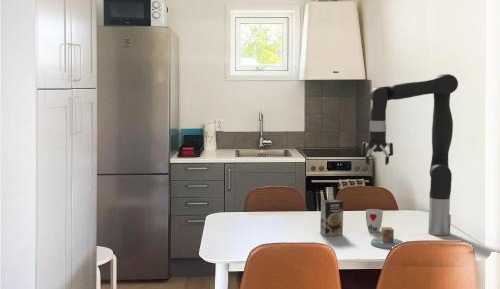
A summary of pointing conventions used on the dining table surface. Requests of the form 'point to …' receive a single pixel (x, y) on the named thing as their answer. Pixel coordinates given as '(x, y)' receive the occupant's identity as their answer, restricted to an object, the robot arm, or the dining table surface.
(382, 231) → the block
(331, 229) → the coffee box
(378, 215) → the cup
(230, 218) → the dining table surface
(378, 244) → the dish
